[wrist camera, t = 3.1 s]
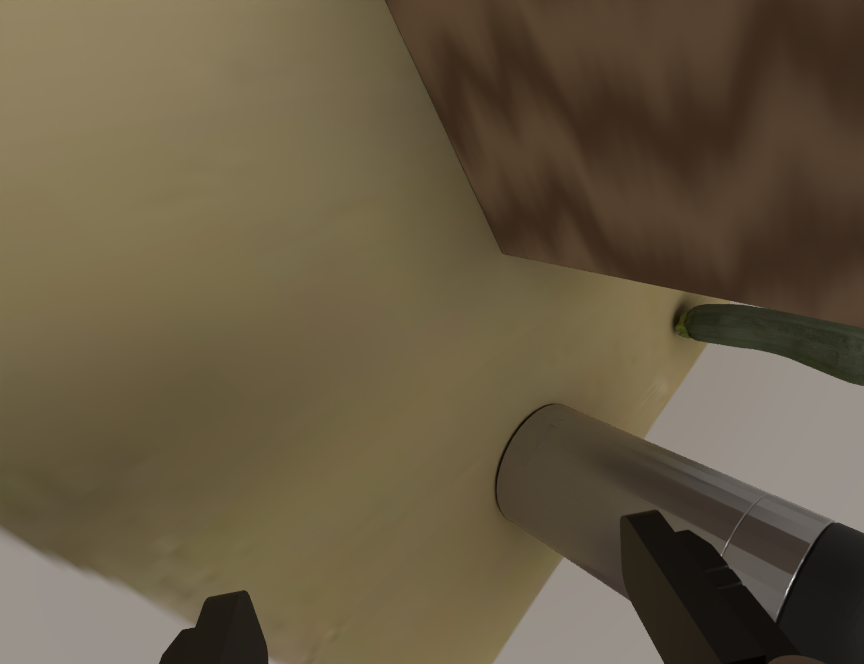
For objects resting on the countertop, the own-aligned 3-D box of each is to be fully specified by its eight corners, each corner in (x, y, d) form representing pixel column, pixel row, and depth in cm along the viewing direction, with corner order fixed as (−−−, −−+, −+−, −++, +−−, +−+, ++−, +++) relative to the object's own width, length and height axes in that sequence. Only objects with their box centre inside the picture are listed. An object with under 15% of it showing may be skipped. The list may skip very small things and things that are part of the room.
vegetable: (670, 297, 48) (988, 366, 33) (695, 281, 50) (1002, 340, 36) (667, 343, 50) (967, 428, 35) (691, 326, 52) (982, 399, 38)
